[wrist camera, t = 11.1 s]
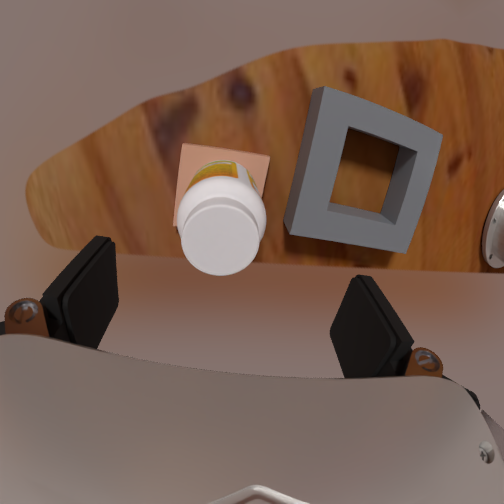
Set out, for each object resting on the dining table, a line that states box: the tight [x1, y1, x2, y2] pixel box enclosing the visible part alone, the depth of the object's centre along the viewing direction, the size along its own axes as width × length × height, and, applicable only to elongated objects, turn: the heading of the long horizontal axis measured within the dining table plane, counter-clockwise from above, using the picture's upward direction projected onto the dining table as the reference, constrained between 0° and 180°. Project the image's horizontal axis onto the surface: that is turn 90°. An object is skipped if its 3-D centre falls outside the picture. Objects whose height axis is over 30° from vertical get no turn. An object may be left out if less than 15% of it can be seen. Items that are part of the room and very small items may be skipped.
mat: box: [173, 143, 270, 226], centre depth 23 cm, size 7×7×1 cm
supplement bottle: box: [177, 160, 266, 276], centre depth 19 cm, size 5×5×10 cm
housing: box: [283, 86, 443, 254], centre depth 22 cm, size 12×12×3 cm
